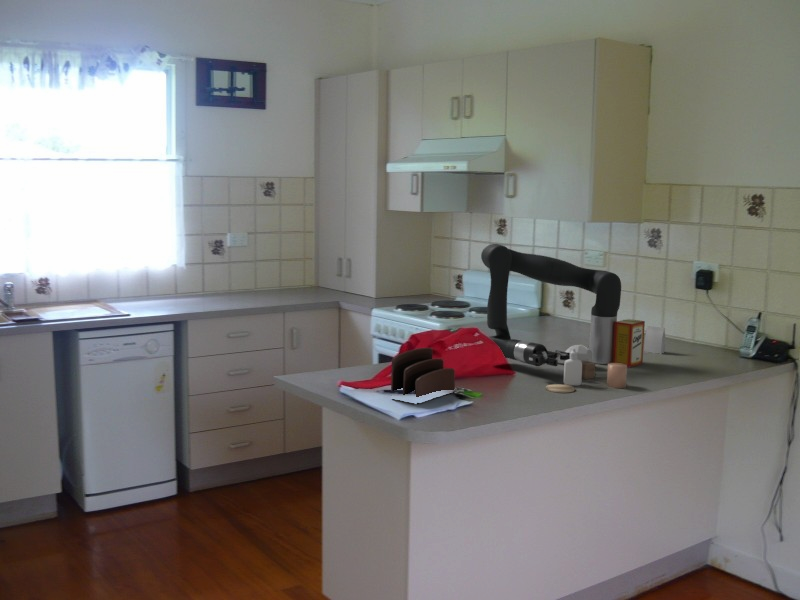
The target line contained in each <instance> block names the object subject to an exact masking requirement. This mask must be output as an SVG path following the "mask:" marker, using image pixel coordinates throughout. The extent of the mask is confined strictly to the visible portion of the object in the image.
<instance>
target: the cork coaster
mask: <svg viewBox="0 0 800 600" xmlns="http://www.w3.org/2000/svg"><path fill="white" fill-rule="evenodd" d="M545 390H546V391H549V392H551V393H556V394H558V393H559V394H569V393H574V392H575V386H572V385H565V384H564V383H563V384H562V383H561V384H560V383H559V384H558V383H557V384H556V383H554V384H548V385H546V386H545Z"/></svg>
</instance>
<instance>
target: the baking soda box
mask: <svg viewBox="0 0 800 600" xmlns="http://www.w3.org/2000/svg"><path fill="white" fill-rule="evenodd" d="M644 344H645V321H644V320H640V319H639V320H638V319H632V318H631V319H630V318H626V319H621V320H617V322H615V336H614V356H613V363H622V364H626V365H627V368H631V367H635V366H638V365H642V364H643V362H644V361H643V358H644V357H643V356H644Z"/></svg>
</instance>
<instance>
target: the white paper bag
mask: <svg viewBox="0 0 800 600" xmlns="http://www.w3.org/2000/svg"><path fill="white" fill-rule="evenodd" d="M644 351H645V352H644ZM643 352H644V353H648V352H652V353H651V354H655V353H660V354H659V355H662V354H661V353H663V354H665V353H664V352H666V331H665V327H660V326H651V325H650V326H648V325H647V326H646V331H645V333H644V344H643Z"/></svg>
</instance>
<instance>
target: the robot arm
mask: <svg viewBox="0 0 800 600" xmlns="http://www.w3.org/2000/svg"><path fill="white" fill-rule="evenodd" d="M480 259H481V261H482V263H483V265H484V266H485V267H486V268H488V269H489V275H490V276H489V277H490V290H489V295H488V300H487V307H486V325H487V327H488V328H489V329H490V330H494V331H495V335H491V336H487V337H488V338H490V339H491V340H493V341H494V342H495V343H496V344H497V345H498V346H499V347H500V349H501V350H502V352H503V354H504V356H505V359H510V360H514V361H518V362H520V363H523V364H527V365H531V366H535V367H541V366H543V365H545V366H548V365H549V366H552V367H558V365H559V364H558V363H561V362H565V361H566V360H568V359H570V353H567V352H565V351H561V350H553V351H552V350H550V349H549V350H548V349H547V348H546V346H545V345H544V344H542V343H537V342H532V341H526V340H519V339H516V338H511V334H510V329H509V325H508V287H509V277H510V272H513V273H517V274H520V275H522V276H525V277H527V278H529V279H532V280H533V279H534V280H535V281H538V282H541V283H546V284H551V285H555V286H556V285H557V286H561V287H574V288H578V289H583V290H585V291H588V292H591V293H593V294H595V303H594V304H593V306H592V307H591V311H590V331H589V332H590V334H588V347H587V348H588V349H590V350H591V352H592V361H591V362H594V363H595V364H597V365H598V364H599V365H600V364H601V365H608V364H609V363H613V356H614V336H615V322H617V321H618V311H619V309H620V305H621V298H622V297H621V296H622V281H621V279H620V277H619V276H618V275H617V274H616V273H614V272H610V271H607V270H602V269H599V270H598V269H592V268H585V267H582V266H577V265H575V264H573V263H571V262H569V261H566V260H562V259H560V258H559V259H558V258H555V257H551V256H547V255H541V254H534V253H533V254H532V253H524V252H520V251H516V250H514V249H511V248H507V246H505V245H502V244H498V243H492V244H491V243H490V244H489V245H487V246H486V247H484V248H483V249H482V251H481V257H480ZM556 358H557V359H558V360H557V359H556Z"/></svg>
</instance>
